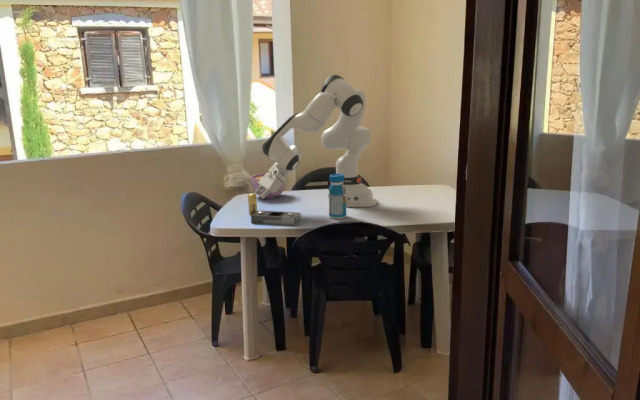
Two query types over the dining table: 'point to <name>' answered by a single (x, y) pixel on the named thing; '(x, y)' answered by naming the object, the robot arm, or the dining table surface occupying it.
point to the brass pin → (252, 203)
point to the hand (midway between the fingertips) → (259, 195)
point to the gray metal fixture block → (276, 217)
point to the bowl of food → (255, 183)
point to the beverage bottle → (337, 197)
